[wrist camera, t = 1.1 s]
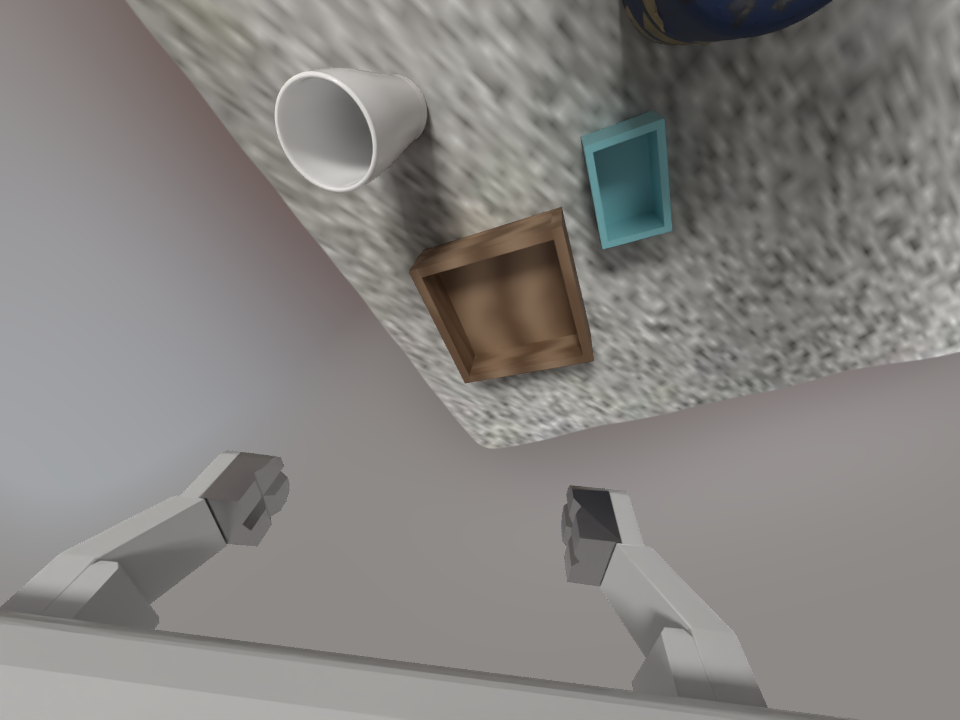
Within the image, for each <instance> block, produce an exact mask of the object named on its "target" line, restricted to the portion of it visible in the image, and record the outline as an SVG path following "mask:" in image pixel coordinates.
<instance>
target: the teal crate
mask: <svg viewBox="0 0 960 720" xmlns="http://www.w3.org/2000/svg"><path fill="white" fill-rule="evenodd" d="M581 140H582V146H583V151H584V157H585V162H586V168H587V173H588V179H589V184H590V190H591V195H592V201H593V206H594V211H595V217H596V222H597V228H598V233H599V237H600V241H601V245H602V250H603V249H607V248H610V247H614V246H618V245H622V244H625V243H629V242H633V241H637V240H640V239H644V238H648V237H651V236H655V235H659V234H663V233H666V232H670V231H672V217H671V203H670V188H669V173H668V158H667V144H666V129H665V118H664V117H662V116H661V115H659V114H657V113H656V112H654V111H649V112H647V113H644V114H641V115H638V116H636V117H633V118H630V119H628V120H625V121H622V122H620V123H617V124H614V125H611V126H609V127H606V128H603V129H601V130H598V131H595V132H593V133H590V134H587V135H584V136H582V137H581Z"/></svg>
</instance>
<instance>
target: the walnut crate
mask: <svg viewBox="0 0 960 720" xmlns="http://www.w3.org/2000/svg"><path fill="white" fill-rule="evenodd" d="M409 273H410V275H411V277H412V279H413V281H414V283H415V285H416V287H417V289H418V291H419V293H420V295H421V297H422V299H423V301H424V303H425V305H426V307H427V309H428V311H429V313H430V315H431V317H432V319H433V321H434V323H435V325H436V327H437V329H438V331H439V333H440V335H441V337H442V339H443V340H444V342H445V344H446V346H447V348H448V350H449V352H450V354H451V356H452V358H453V360H454V362H455V364H456V366H457V368H458V370H459V372H460V374H461V376H462V378H463V380H464V382H465V383H470V382H475V381H481V380H487V379H493V378H499V377H504V376H510V375H516V374H522V373H528V372H533V371H539V370H545V369H551V368H556V367H562V366H568V365H574V364H580V363H585V362H591V361H594V358H593V350H592V341H591V333H590V329H589V324H588V320H587V316H586V311H585V307H584V303H583V298H582V294H581V290H580V285H579V281H578V276H577V272H576V268H575V263H574V259H573V255H572V250H571V246H570V242H569V237H568V233H567V228H566V224H565V220H564V215H563V211H562V207H560V208H557V209H554V210H550V211H547V212H544V213H541V214H538V215H534V216H531V217H528V218H525V219H522V220H518V221H515V222H512V223H509V224H506V225H503V226H499V227H496V228H493V229H490V230H487V231H483V232H480V233H477V234H474V235H471V236H467V237H464V238H461V239H458V240H455V241H452V242H448V243H445V244H442V245H439V246H436V247H432V248H429V249H426V250H423V251H422V253H421V254H420V256H419V257H418V259H417V260H416V262H415V263H414V265H413V266H412V268H411V269H410V271H409Z"/></svg>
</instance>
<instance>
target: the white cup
mask: <svg viewBox="0 0 960 720" xmlns="http://www.w3.org/2000/svg"><path fill="white" fill-rule="evenodd" d="M426 122H427V106H426V102H425V99H424V96H423V94H422V92H421V91H420V89H419V88H418V86H417V85H416V84H415V83H414V82H413V81H411V80H410V79H409V78H407V77H405V76H402V75H398V74H381V73H375V72H369V71H363V70H358V69H351V68H323V69H317V70H311V71H306V72H302V73H299V74H297V75H295V76H293V77H291V78H290V79H289V80H288V81H287V82H286V83H285V84H284V85H283V87H282V88H281V90H280V92H279V94H278V97H277V100H276V105H275V125H276V130H277V134H278V138H279V141H280V143H281V146H282V148H283V150H284V152H285V154H286V156H287V157H288V159H289V160H290V162H291V163H292V165H293V166H294V167H295V168H296V170H297V171H298V172H299V173H300V174H301V175H302V176H303V177H305V178H306V179H307V180H308V181H310V182H311V183H313V184H314V185H316V186H318V187H320V188H322V189H324V190H327V191H331V192H338V193H343V192H350V191H353V190H356V189H358V188H360V187H361V186H363V185H365V184H367V183H369V182H370V181H372V180H374V179H375V178H377V177H378V176H379V175H381V174H382V173H383V172H384V171H385V170H386V169H388V168H389V167H390V166H391V164H392V163H393V162H394V161H395V160H396V159H397V158H398V157H399V156H400V155H401V153H402V152H403V151H404V150H405V149H406V148H407V147H408V146H409V145H410V144H411V143H412V142H413V141H415V140H416V139H417V138H418V137H419V136H420V135H421V134H422V132H423V130H424V128H425V125H426Z"/></svg>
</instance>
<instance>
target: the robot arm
mask: <svg viewBox="0 0 960 720" xmlns="http://www.w3.org/2000/svg"><path fill="white" fill-rule="evenodd" d="M283 467H284V464H283V461H282V459H281V458H280V457H276V456H269V455H261V454H254V453H245V452H236V451H225V452H223V453H220V455H219V456H218V457H217V458H216V459H215V460H214V461H213V462H212V463H211V464H210V465H209V466H208V467H207V468H206V469H205V470H204V471H203V472H202V473H201V474H200V475H199V476H198V477H197V479H196V480H195V481H194V482H193V483H192V484H191V485H190V486H189V487H188V488H187V489H186V490H185V491H184V492H183V493H182V494H181V495H180V496H172V497H170V498H168V499H167V500H165V501H163V502H161V503H159V504H157V505H155V506H153V507H151V508H149V509H147V510H145V511H143V512H141V513H139V514H137V515H135V516H133V517H131V518H129V519H127V520H125V521H123V522H121V523H119V524H117V525H115V526H113V527H111V528H110V529H107V530H106V531H104V532H101V533H99V534H97V535H96V536H94V537H92V538H90V539H88V540H86V541H84V542H82V543H80V544H78V545H76V546H74V547H72V548H70V549H68V550H66V551H64V552H62V553H60V554H59V555H58V556H57V557H56V558H54V559H53V560H52V561H51V562H50V563H49V564H48V565H47V566H46V567H44V568H43V569H42V570H41V571H40V572H39V573H38V574H37V575H36V576H34V577H33V578H32V579H31V580H30V581H29V582H28V583H27V584H26V585H24V586H23V587H22V588H21V589H20V590H19V591H18V592H17V593H16V594H15V595H13V596H12V597H11V598H10V599H9V600H8V601H7V602H6V603H5V604H3V605H2V606H1V607H0V720H857V719H850V718H841V717H834V716H826V715H818V714H810V713H802V712H795V711H787V710H779V709H771V708H768V707H767V705H766V702H765V700H764V698H763V696H762V693H761V691H760V689H759V687H758V684H757V682H756V680H755V677H754V675H753V673H752V670H751V668H750V666H749V664H748V661H747V659H746V657H745V654H744V652H743V650H742V648H741V646H740V643H739V641H738V639H737V636H736V634H735V633H734V632H733V631H732V630H731V629H730V628H729V627H728V626H727V625H726V624H725V623H724V622H723V621H722V620H721V619H720V618H719V617H718V616H717V614H716V613H715V612H714V611H713V610H712V609H711V608H710V607H709V606H708V605H707V604H706V603H705V602H704V601H703V600H702V599H701V598H700V597H699V596H698V595H697V594H696V593H695V592H694V591H693V590H692V589H691V588H690V587H689V586H688V585H687V584H686V583H685V582H684V581H683V579H682V578H681V577H680V576H679V575H678V574H677V573H676V572H675V571H674V570H673V569H672V568H671V567H670V566H669V565H668V564H667V563H666V562H665V561H664V560H663V559H662V558H661V557H660V556H659V555H658V554H657V553H656V552H655V551H654V550H653V549H652V547H647V546H645V545H644V541H643V538H642V535H641V532H640V529H639V525H638V522H637V519H636V516H635V513H634V510H633V507H632V504H631V500H630V497H629V494H628V493H627V492H626V491H623V490H613V489H605V488H592V487H582V486H569V488H568V491H567V504H566V505H564V507H563V512H562V522H561V523H562V524H561V527H562V541H563V542H564V544H565V545H566V546H567V548H566V552H565V556H564V559H565V568H566V576H567V582H573V583H580V584H587V585H595V586H600V589H601V590H602V592H603V594H604V595H605V597H606V598H607V600H608V601H609V603H610V604H611V606H612V607H613V609H614V610H615V612H616V613H617V615H618V616H619V618H620V619H621V621H622V622H623V624H624V625H625V627H626V628H627V630H628V631H629V633H630V634H631V636H632V637H633V639H634V640H635V642H636V643H637V645H638V647H639V648H640V649H641V651H642V653H643V654H644V656H645V657H646V659H645V661H644V662H643V664H642V666H641V667H640V669H639V671H638V673H637V674H636V676H635V678H634V679H633V681H632V686H633V691H631V690H622V689H614V688H607V687H599V686H591V685H584V684H576V683H568V682H559V681H552V680H544V679H536V678H529V677H521V676H513V675H505V674H498V673H489V672H482V671H474V670H466V669H459V668H451V667H443V666H435V665H427V664H420V663H412V662H403V661H396V660H388V659H380V658H372V657H365V656H357V655H349V654H341V653H334V652H326V651H318V650H310V649H303V648H294V647H286V646H279V645H271V644H263V643H255V642H248V641H240V640H232V639H224V638H216V637H208V636H201V635H193V634H184V633H177V632H169V631H162V630H154V629H155V627H156V626H157V625H158V624H159V617H158V615H157V614H156V612H155V611H154V610H153V608H152V607H151V606H150V604H151V603H152V602H153V601H155V600H156V599H157V598H159V597H160V596H161V595H163V594H164V593H165V592H167V591H168V590H169V589H170V588H172V587H173V586H174V585H176V584H177V583H178V582H180V581H181V580H182V579H183V578H185V577H186V576H187V575H189V574H190V573H191V572H193V571H194V570H195V569H197V568H198V567H199V566H201V565H202V564H203V563H205V562H206V561H207V560H208V559H210V558H211V557H212V556H214V555H215V554H216V553H218V552H219V551H220V550H222V549H223V548H224V547H225V546H226V544H235V545H247V546H258V545H259V543H260V542H261V540H262V538H263V537H264V535H265V534H266V532H267V531H268V529H269V528H270V526H271V516H273V515H274V514H276V513H277V512H279V511H280V510H281V509H282V507H283V506H284V504H285V502H286V500H287V497H288V494H289V480H288V477H287V476H286V475H285V474H283V473H282V472H281V470H282V468H283Z"/></svg>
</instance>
